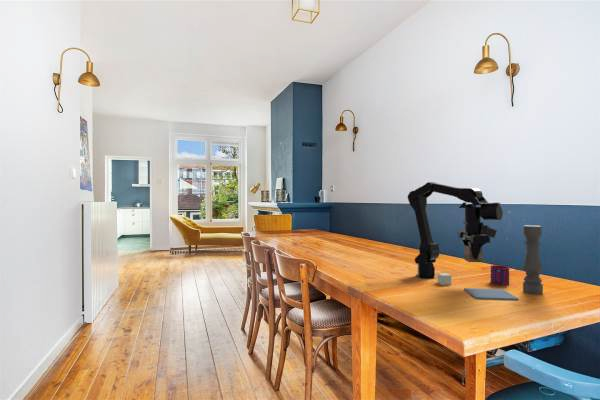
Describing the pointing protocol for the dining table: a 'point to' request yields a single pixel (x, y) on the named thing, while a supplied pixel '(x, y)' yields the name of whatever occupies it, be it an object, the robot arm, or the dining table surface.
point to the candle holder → (532, 260)
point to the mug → (500, 275)
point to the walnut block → (470, 257)
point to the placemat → (490, 294)
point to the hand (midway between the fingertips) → (473, 257)
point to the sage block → (444, 279)
